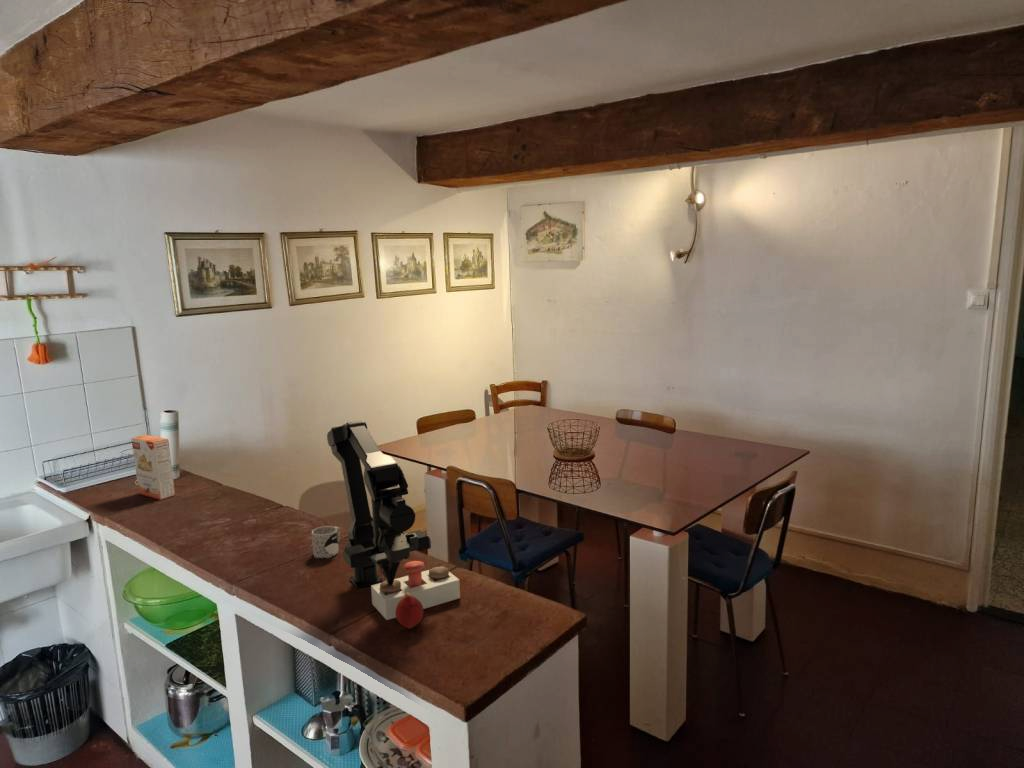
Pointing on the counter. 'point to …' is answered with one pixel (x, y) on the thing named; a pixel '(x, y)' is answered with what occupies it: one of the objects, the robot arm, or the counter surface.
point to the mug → (325, 541)
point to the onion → (409, 611)
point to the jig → (417, 593)
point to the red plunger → (414, 573)
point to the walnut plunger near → (390, 587)
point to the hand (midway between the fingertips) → (390, 584)
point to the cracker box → (153, 466)
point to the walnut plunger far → (438, 573)
